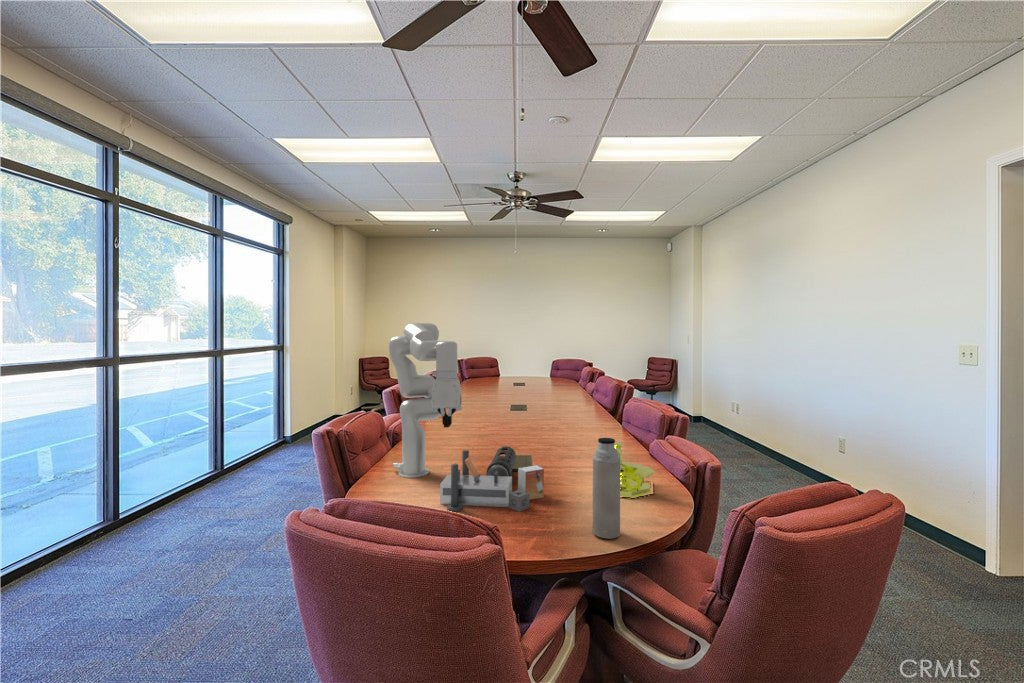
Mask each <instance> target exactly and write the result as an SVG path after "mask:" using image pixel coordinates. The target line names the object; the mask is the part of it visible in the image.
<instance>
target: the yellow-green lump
mask: <svg viewBox="0 0 1024 683" xmlns="http://www.w3.org/2000/svg"><path fill="white" fill-rule="evenodd" d="M614 444H615V449H616V450H617V451H618V457H619V458H620V496H623V497H632V498H633V497H637V496H642V495H644V494H648V493H651V489H650V487H651V485H650V482H644V480H645V479H647V478H648V479H649V478H650V477H651V476H652V475H653V474H654V473H656V471H655V470H653V469H652V468H651V467H649V465H648V466H647V465H643V464H639V463H633V462H628V461H623V445H622V444H623V443H622V442H621V441H619V442H618V441H615V443H614Z"/></svg>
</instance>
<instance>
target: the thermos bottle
mask: <svg viewBox="0 0 1024 683" xmlns="http://www.w3.org/2000/svg"><path fill="white" fill-rule="evenodd" d="M597 441H598V443H597V446H598V447H597V448H595V451H594V455H593V456H592V533H593V534H594V535H595V536H597V537H599V538H602V539H615V538H618V537H619V536H620V535H621V497H620V458H619V457H618V451H617V450H616V449H615V444H614V443H615V442H616V439H615V438H611V437H599V438H598V439H597Z"/></svg>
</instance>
